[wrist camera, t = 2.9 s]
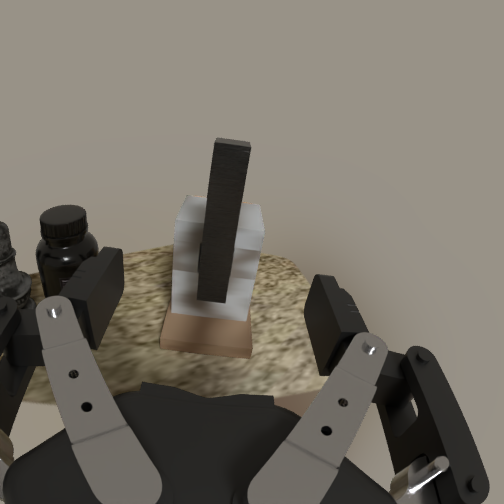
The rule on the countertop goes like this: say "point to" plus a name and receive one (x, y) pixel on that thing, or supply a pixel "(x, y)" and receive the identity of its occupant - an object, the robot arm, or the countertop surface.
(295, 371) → the countertop surface
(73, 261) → the supplement bottle
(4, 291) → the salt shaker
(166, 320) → the stand
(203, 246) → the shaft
